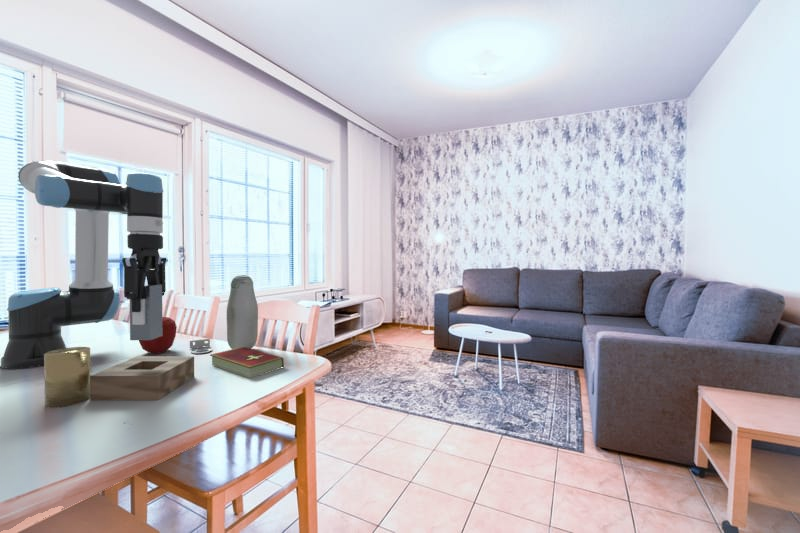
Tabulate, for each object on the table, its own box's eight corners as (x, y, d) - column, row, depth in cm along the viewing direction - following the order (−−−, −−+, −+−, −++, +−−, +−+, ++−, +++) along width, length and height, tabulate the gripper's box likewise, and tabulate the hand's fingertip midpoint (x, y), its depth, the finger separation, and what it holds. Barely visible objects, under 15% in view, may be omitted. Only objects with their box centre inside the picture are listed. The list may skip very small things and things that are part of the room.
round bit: (66, 393, 88) (65, 346, 87) (99, 393, 88) (98, 346, 87) (34, 407, 80) (33, 356, 79) (71, 407, 80) (70, 356, 80)
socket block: (137, 376, 100) (137, 356, 100) (194, 376, 101) (194, 356, 100) (90, 400, 84) (89, 375, 84) (158, 400, 85) (158, 375, 85)
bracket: (192, 356, 121) (192, 346, 121) (189, 350, 130) (189, 340, 129) (213, 353, 125) (213, 344, 125) (209, 347, 133) (209, 338, 133)
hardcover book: (244, 357, 121) (244, 345, 121) (283, 369, 110) (283, 356, 110) (210, 366, 111) (210, 353, 111) (249, 380, 100) (249, 366, 100)
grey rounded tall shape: (235, 347, 133) (235, 274, 132) (261, 347, 133) (262, 274, 132) (221, 354, 123) (221, 275, 122) (249, 355, 123) (250, 276, 122)
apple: (157, 347, 131) (156, 312, 131) (185, 348, 130) (184, 313, 129) (128, 356, 119) (127, 317, 119) (158, 358, 118) (158, 319, 117)
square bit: (143, 335, 94) (143, 284, 94) (162, 335, 94) (162, 284, 94) (130, 340, 89) (129, 285, 89) (150, 340, 89) (149, 286, 89)
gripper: (135, 231, 82) (137, 329, 83) (180, 236, 100) (181, 316, 101) (102, 231, 82) (104, 329, 82) (153, 235, 100) (154, 316, 100)
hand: (146, 322), depth 92 cm, fingers closed on square bit, 5 cm apart
